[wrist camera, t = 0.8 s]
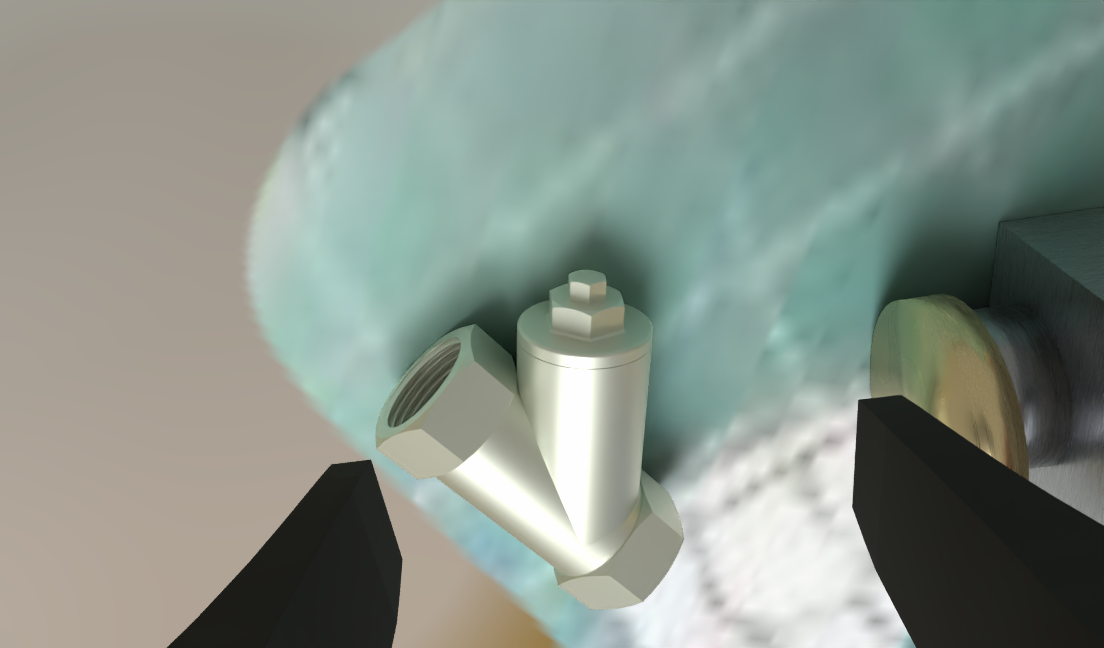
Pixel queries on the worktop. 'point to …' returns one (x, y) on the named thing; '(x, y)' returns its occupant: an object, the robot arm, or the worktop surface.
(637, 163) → the worktop surface
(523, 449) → the pipe fitting
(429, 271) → the worktop surface
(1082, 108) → the worktop surface
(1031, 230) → the grey block with discs
